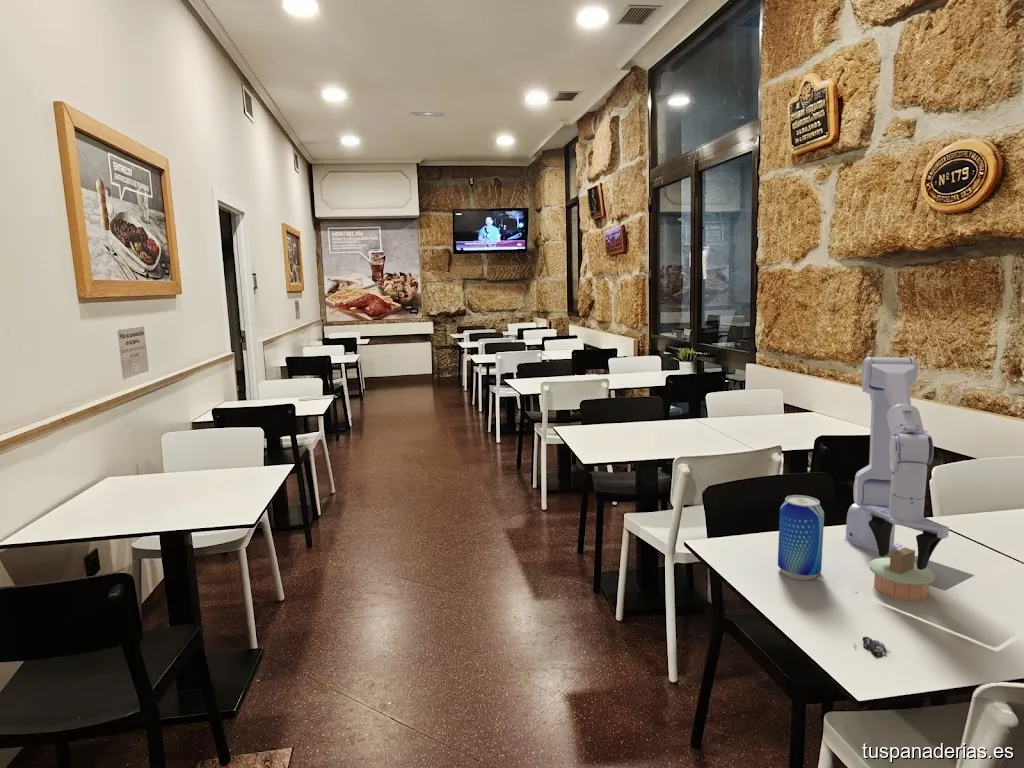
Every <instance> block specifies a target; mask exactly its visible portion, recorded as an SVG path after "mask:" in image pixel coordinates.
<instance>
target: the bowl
mask: <svg viewBox="0 0 1024 768" xmlns="http://www.w3.org/2000/svg"><path fill="white" fill-rule="evenodd" d="M929 586H930V585H929V584H926V585H908V584H902V583H897V582H893V581H890V580H887V579H884V578H882V577H880V576H878V575H876V574H874V579H873V588H875V589H876V590H877V591H879V593H881V594H884V595H886V596H888V597H891V598H894V599H898V600H905V601H922V600H924V599H926V598H928V597H929Z"/></svg>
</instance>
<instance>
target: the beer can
mask: <svg viewBox="0 0 1024 768" xmlns="http://www.w3.org/2000/svg"><path fill="white" fill-rule="evenodd" d="M778 523H779V526H778V546H777V547H778V549H777V551H778V552H777V567H778V568H779V570H780V571H781V573H782V574H783V575H785V576H786V577H788V578H791V579H795V580H798V581H799V580H801V581H811V580H814V579H816V578H818V575H819V574H820V573H821V572H822V563H823V546H824V545H823V544H824V527H825V525H824V524H825V512H824V510H823V508H822V506H821V502H820V500H819V499H817V498H815V497H812V496H809V495H802V494H801V495H800V494H793V495H787V496H786V497H785V499H784V502H783V503H782V504H781V506H780V508H779V521H778Z"/></svg>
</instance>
